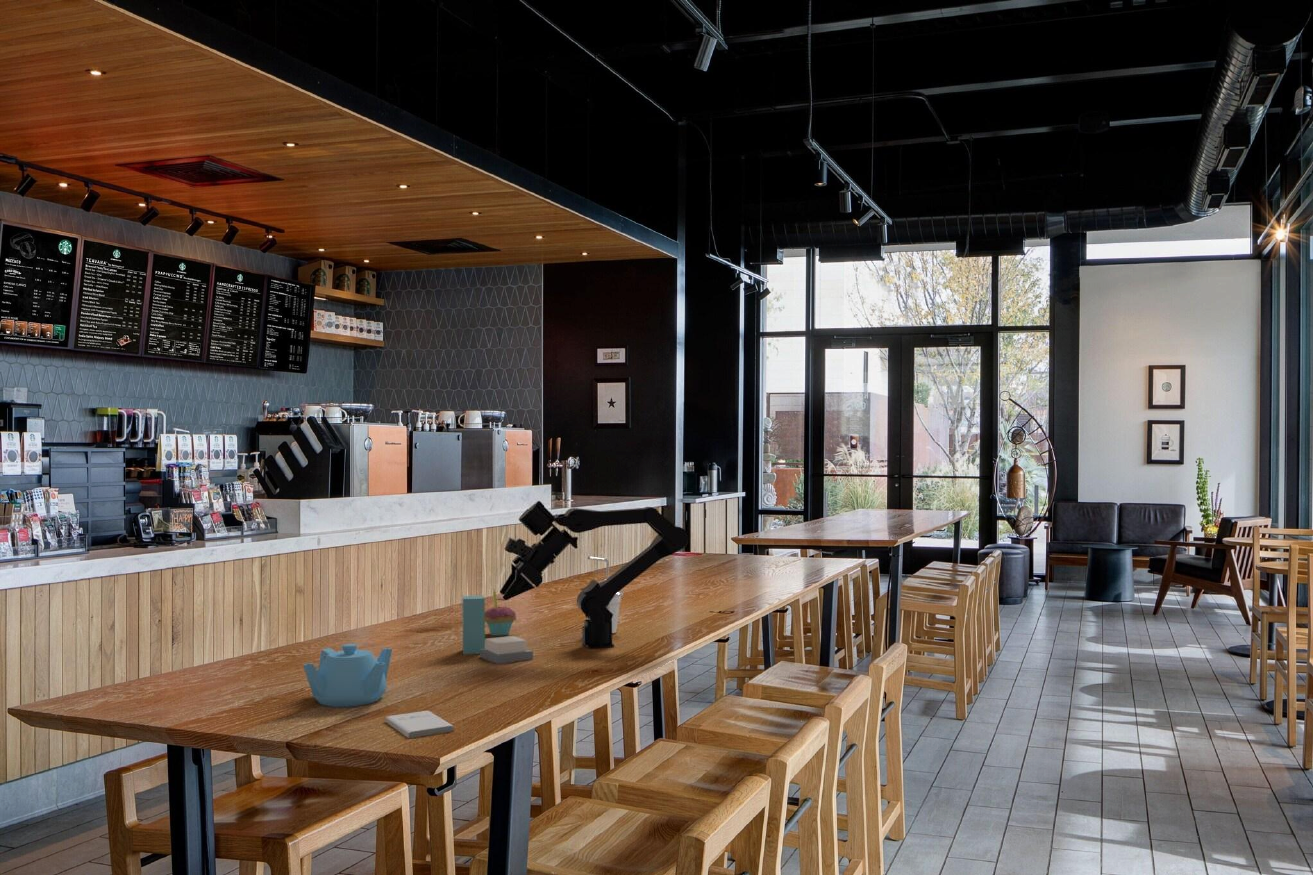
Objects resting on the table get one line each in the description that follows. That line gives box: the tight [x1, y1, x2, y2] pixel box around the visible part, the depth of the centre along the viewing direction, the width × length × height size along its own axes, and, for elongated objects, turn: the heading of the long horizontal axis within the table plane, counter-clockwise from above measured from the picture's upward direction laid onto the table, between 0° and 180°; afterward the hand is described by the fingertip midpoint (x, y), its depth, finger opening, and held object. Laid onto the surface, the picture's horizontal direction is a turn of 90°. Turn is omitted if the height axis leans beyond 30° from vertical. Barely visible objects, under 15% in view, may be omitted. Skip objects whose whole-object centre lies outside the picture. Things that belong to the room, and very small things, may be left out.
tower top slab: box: [485, 635, 527, 655], centre depth 246 cm, size 7×7×2 cm
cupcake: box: [485, 588, 517, 637], centre depth 277 cm, size 9×8×12 cm
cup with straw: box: [587, 556, 624, 634], centre depth 279 cm, size 8×9×20 cm
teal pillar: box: [461, 594, 486, 655], centre depth 254 cm, size 5×5×13 cm
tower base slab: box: [479, 648, 534, 665], centre depth 246 cm, size 9×9×2 cm
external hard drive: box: [385, 710, 455, 739], centre depth 188 cm, size 2×8×12 cm
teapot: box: [302, 643, 393, 708], centre depth 208 cm, size 15×15×11 cm
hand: (502, 596), depth 255 cm, fingers open, 9 cm apart
